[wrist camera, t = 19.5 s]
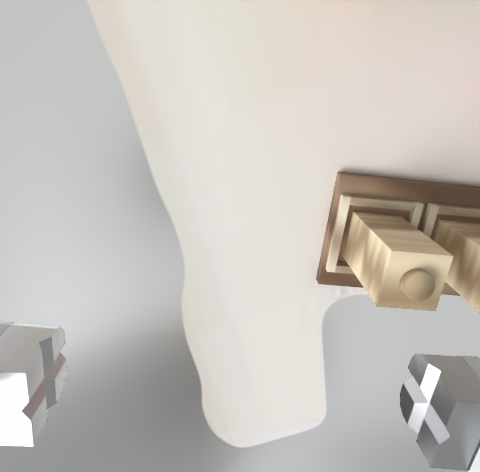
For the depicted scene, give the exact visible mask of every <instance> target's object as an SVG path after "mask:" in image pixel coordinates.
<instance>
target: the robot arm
mask: <svg viewBox="0 0 480 472" xmlns="http://www.w3.org/2000/svg"><path fill="white" fill-rule="evenodd" d="M64 345H65V334H64V330H63V329H62V328H61V327H56V326H45V325H34V324H24V323H13V322H0V445H6V446H7V445H9V446H34V444H35V442H36V440H37V438H38V436H39V435H40V433H41V431H42V429H43V427H44V425H45V423H46V422H47V420H48V417H47V409H48V408H50V407H51V406H53V405H54V404H56V403H57V401H58V399H59V397H60V395H61V393H62V390H63V387H64V383H65V380H66V371H67V362H66V359H65V357H64V356H63V355H62V354H61V353H60V351H61V350H62V348H63V346H64ZM408 369H409V371H410V373H411V375H412V376H411V377H409V378H408V379H407V380H406V381H404V382H403V385H402V388H401V392H400V406H401V411H402V414H403V417H404V418H405V421H406V423H407V424H408V425H409V426H410V427H411V428H413V429H414V430H415V431H416V432H418V436H417V440H416V442H417V443H418V445H419V447H420V449H421V451H422V453H423V454H424V456H425V458H426V460H427V462H428V464H429V466H430V467H431V468H442V469H454V470H466V471H469V472H480V358H478V357H471V356H441V355H425V354H415V355H414V356H413V357H412V358H411V360H410V363H409V366H408Z"/></svg>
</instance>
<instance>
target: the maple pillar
mask: <svg viewBox="0 0 480 472" xmlns="http://www.w3.org/2000/svg"><path fill="white" fill-rule="evenodd" d="M343 257H344V259H345V260H346V262H347V263H348V265H349V266H350V268H351V269H352V271H353V272H354V274H355V275H356V277H357V278H358V280H359V281H360V283H361V284H362V286H363V287H364V288H365V290H366V291H367V293H368V294H369V296H370V297H371V299H372V300H373V302H374V303H375V304H376V306H377V307H389V308H402V309H414V310H427V311H435V310H436V308H437V304H438V302H439V298H440V295H441V293H442V290H443V287H444V284H445V281H446V278H447V275H448V272H449V269H450V266H451V263H452V260H453V257H454V256H453V255H451V254H450V253H449V252H447V251H446V250H445V249H444V248H442V247H441V246H440V245H438V244H437V243H436V242H434V241H433V240H432V239H430V238H429V237H428V236H426V235H425V234H424V233H422V232H421V231H420V230H418V229H417V228H416V227H415V226H413V225H412V224H411V223H409V222H408V221H407V220H405V219H404V218H403V217H401V216H396V215H386V214H376V213H365V212H355V211H353V213H352V217H351V222H350V226H349V231H348V235H347V240H346V244H345V249H344V253H343Z"/></svg>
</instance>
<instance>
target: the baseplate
mask: <svg viewBox="0 0 480 472" xmlns="http://www.w3.org/2000/svg"><path fill="white" fill-rule="evenodd" d="M353 211H355V212H365V213H376V214H386V215H396V216H401V217H403V218H404V219H405V220H407V221H408V222H409V223H411V224H412V225H413V226H415V227H416V228H417V229H418V230H420V231H421V232H422V233H424V234H425V235H426V236H428V237H429V238H430V239H432V240H433V241H434V242H436V243H437V244H438V245H440V246H441V247H442V248H444V249H445V250H446V251H447V252H449V253H450V254H451V255H453V256H454V257H453V260H452V263H451V266H450V269H449V272H448V275H447V278H446V281H445V284H444V287H443V290H442V293H441V294H446V295H458V296H462V297H463V298H464V299H465V300H466V301H467V302H468V303H469V304H471V305H472V306H473V307H474V308H475V309H476V310H477V311H478V312H479V313H480V187H473V186H464V185H454V184H444V183H435V182H425V181H416V180H406V179H396V178H387V177H377V176H367V175H358V174H348V173H339V172H338V173H337V178H336V183H335V188H334V193H333V198H332V203H331V208H330V213H329V218H328V223H327V228H326V233H325V238H324V243H323V248H322V253H321V258H320V263H319V268H318V273H317V278H316V279H317V281H318V284H326V285H338V286H350V287H362V288H364V287H363V286H362V284H361V283H360V281H359V280H358V278H357V277H356V275H355V274H354V272H353V271H352V269H351V268H350V266H349V265H348V263H347V262H346V260H345V259H344V257H343V253H344V249H345V244H346V240H347V235H348V231H349V226H350V222H351V217H352V213H353Z"/></svg>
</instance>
